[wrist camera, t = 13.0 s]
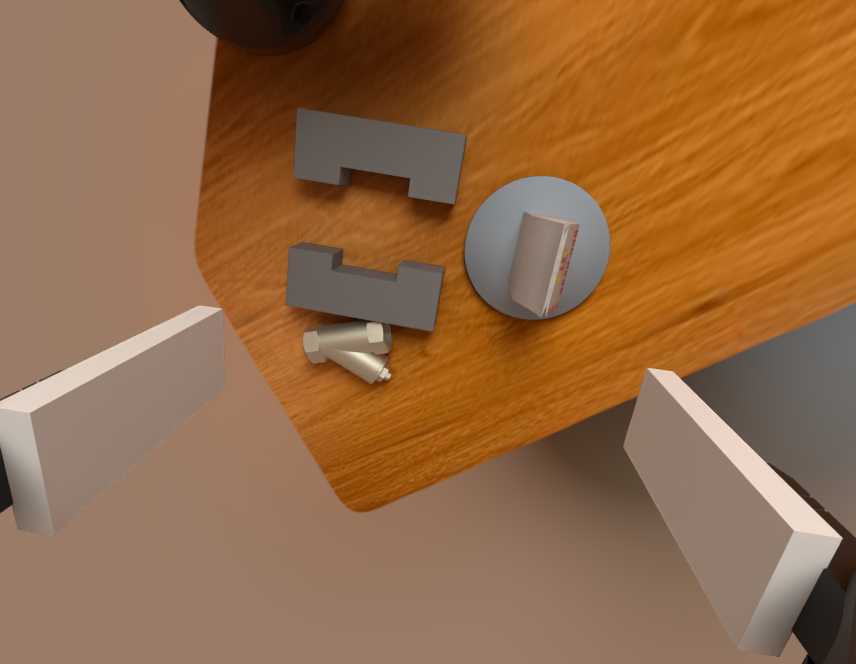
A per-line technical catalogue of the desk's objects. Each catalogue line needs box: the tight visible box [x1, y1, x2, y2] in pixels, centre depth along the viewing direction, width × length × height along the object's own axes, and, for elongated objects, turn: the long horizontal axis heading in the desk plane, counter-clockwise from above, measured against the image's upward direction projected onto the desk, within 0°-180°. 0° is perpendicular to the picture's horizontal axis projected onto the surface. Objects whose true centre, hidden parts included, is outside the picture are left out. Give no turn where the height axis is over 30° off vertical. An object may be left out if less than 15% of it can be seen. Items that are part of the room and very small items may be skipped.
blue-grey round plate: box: [465, 176, 610, 320], centre depth 42 cm, size 13×13×1 cm
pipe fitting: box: [303, 320, 392, 384], centre depth 46 cm, size 8×4×7 cm
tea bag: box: [508, 211, 580, 317], centre depth 37 cm, size 4×7×10 cm, turn 171°
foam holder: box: [286, 108, 467, 332], centre depth 41 cm, size 17×14×4 cm
